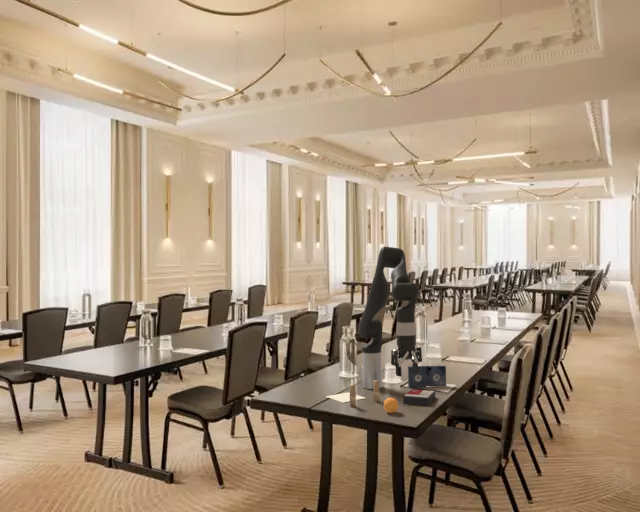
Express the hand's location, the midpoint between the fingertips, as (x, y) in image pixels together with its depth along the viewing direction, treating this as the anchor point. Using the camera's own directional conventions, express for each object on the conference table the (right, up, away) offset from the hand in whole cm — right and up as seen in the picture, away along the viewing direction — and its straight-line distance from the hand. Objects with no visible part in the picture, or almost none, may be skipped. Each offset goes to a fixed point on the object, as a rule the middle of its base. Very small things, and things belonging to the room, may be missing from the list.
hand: (407, 374), depth 222 cm
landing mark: (-23, -17, +33) cm, 44 cm away
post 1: (-20, -17, +18) cm, 32 cm away
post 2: (-9, -17, +25) cm, 32 cm away
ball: (-5, -14, +8) cm, 17 cm away
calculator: (+9, -18, +26) cm, 33 cm away
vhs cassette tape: (+18, -17, +52) cm, 58 cm away
